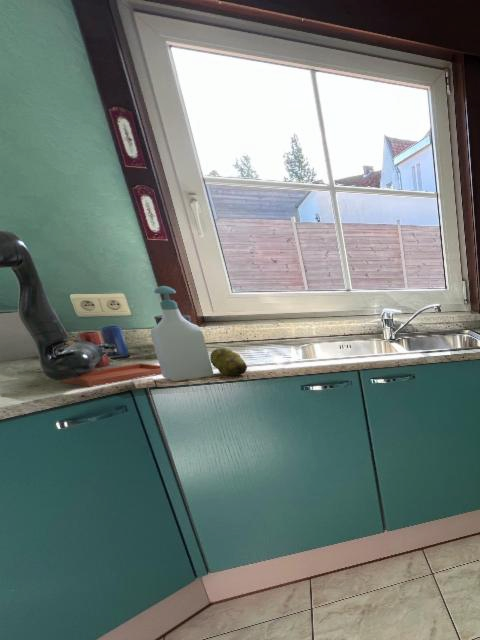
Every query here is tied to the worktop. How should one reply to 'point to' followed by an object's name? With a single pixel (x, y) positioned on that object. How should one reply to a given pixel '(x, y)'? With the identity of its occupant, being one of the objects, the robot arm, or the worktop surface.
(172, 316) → the soap bottle
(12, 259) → the robot arm
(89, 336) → the red cup
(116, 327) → the blue cup
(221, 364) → the green oval piece
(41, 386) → the worktop surface
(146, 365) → the tray
